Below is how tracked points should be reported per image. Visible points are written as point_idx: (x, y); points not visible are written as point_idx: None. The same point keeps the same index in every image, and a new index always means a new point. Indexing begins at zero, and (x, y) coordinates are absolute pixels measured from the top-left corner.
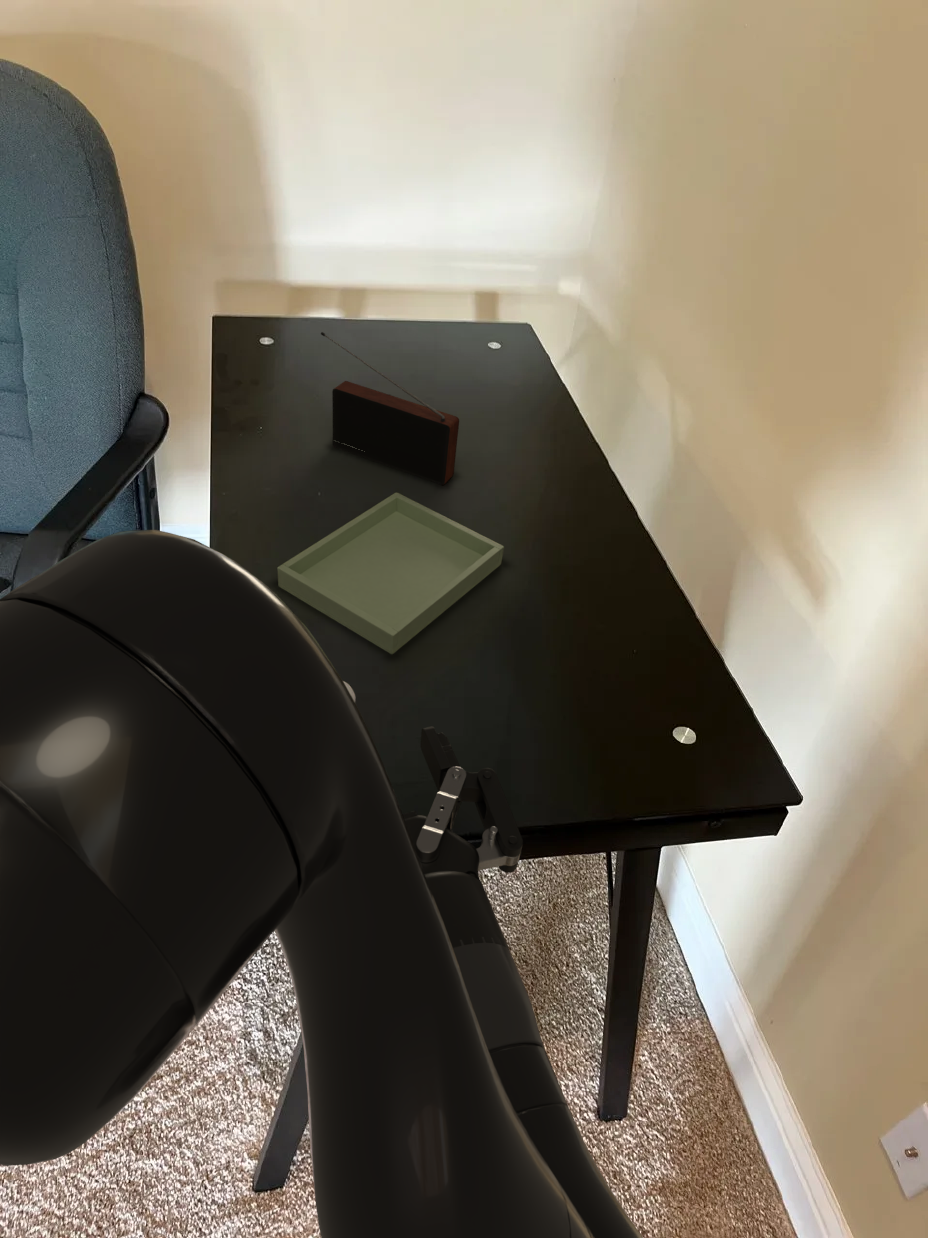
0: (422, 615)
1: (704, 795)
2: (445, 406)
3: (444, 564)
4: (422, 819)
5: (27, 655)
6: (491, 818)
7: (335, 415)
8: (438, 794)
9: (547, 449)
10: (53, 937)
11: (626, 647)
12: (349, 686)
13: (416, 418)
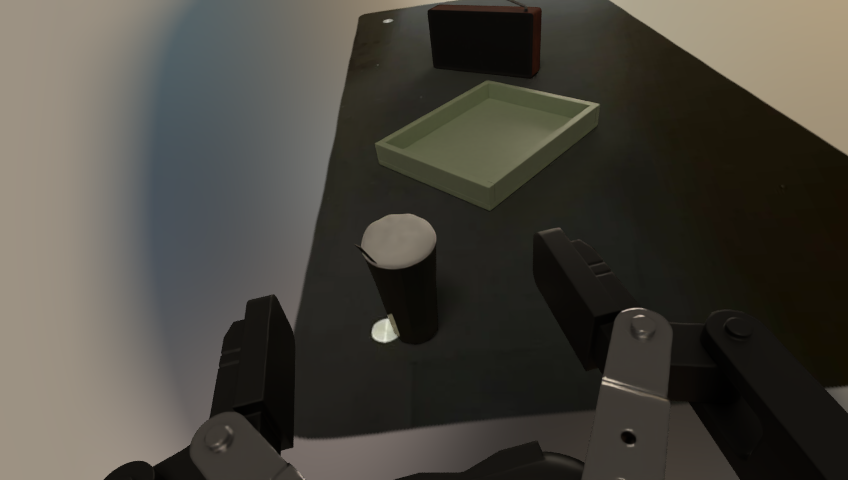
0: (520, 168)
1: None
2: None
3: (538, 130)
4: (563, 473)
5: None
6: (805, 472)
7: (432, 36)
8: (606, 389)
9: (624, 43)
10: None
11: (770, 183)
12: (428, 223)
13: (501, 15)
